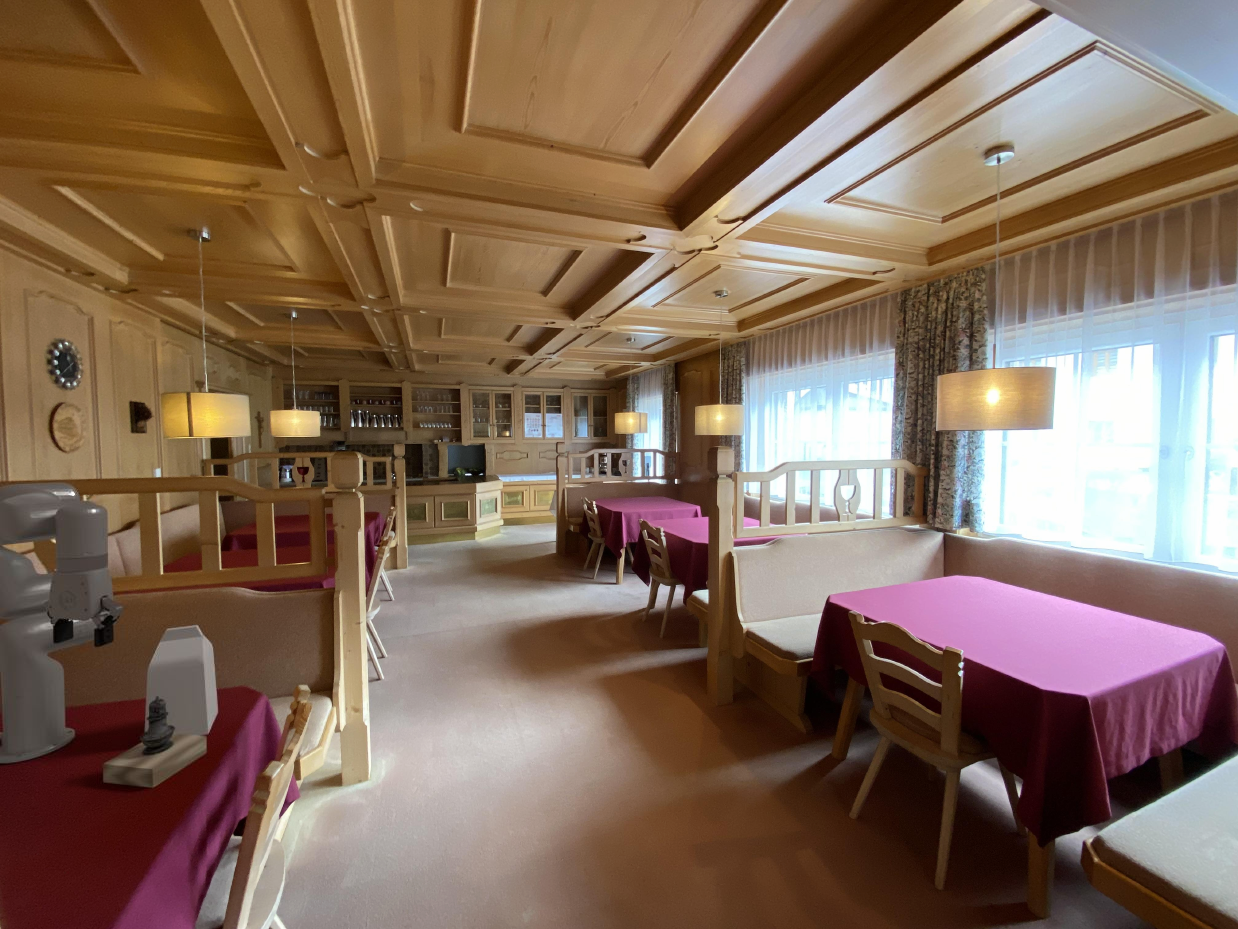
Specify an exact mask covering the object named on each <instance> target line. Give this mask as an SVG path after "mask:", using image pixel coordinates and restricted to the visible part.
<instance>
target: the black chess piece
mask: <svg viewBox="0 0 1238 929" xmlns="http://www.w3.org/2000/svg"><path fill="white" fill-rule="evenodd" d="M167 715H168V712H166V701H165V700H164V699H159V696H157V697H156V699H155V700H154V701H152V702H151V703H150V704H149V717H148V718H147V720H148V721H149V728H148V731H146V732H145V731H144V732H143V733H142V734H141V735H140V737H139V739H140V741H141V743H143V744H144V745H145V746H147V747H146V748H145V749H144V750H143V751H142V754H143V755H155V754H159V753H161V752H164V751H166V750H168V749H170V748H171V747H172V746H173V745H174V742H173V741H169V740H170V739H171V738H172V735H173V733H174V730H175V726H172V725H168V724H167Z"/></svg>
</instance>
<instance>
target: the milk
mask: <svg viewBox="0 0 1238 929" xmlns="http://www.w3.org/2000/svg"><path fill="white" fill-rule="evenodd" d="M214 654H215V653H214V647H213V644H212V642H211V641H210V640H209V639H208V638H207V637H206V636H205V635H204V634H203V632H202V630H201V629H200V627H199V625H198V624H195V625H185V626H179V627H171V628H170V627H169V628H166V630H165V632H164V633H163V635H162V637H161V639H160V640H159V643H158V645H157V647H156V649H155V652H154V654H153V656H152V658H151V660H150V663H149V664H148V668H147V673H146V674H147V677H146V678H147V679H146V680H147V681H146V694H145V695H146V696H145V698H146V700H145V701H146V702H145V719H144V721H145V723H144V733H145V732H146V731H148V728H149V721H148V720H147V718H148V717H149V704H150V703H151V702H152V701H154V700H155V699H156V697H157V696H159V699H164V700H165V701H166V712H168V715H167V724H168V725H172V726H175V730H174V733H178V734H188V735H198V736H206V735H209V733H210V731H211V729H212V726H213V724H214V722H215V720H216V718H217V716H218V713H219V707H218V706H219V705H218V694H217V681H216V668H215V655H214Z"/></svg>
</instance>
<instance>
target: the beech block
mask: <svg viewBox="0 0 1238 929" xmlns="http://www.w3.org/2000/svg"><path fill="white" fill-rule="evenodd" d="M169 741H173V742H174V745H173V746H172V747H171V748H170V749H168V750H166V751H164V752H161V753H159V754H155V755H143V754H142V751H143V750H144V749H145V748H146V747H147V746H145V745H144V744H143V743H142V742H140V743H138V744H136V745H135V746H133V747H130V749H128V750H125V751H124V752H122V753H120V754H118V755H117V756H115V757H113V758H112V759H110V760H109V759H108V761H106V762H104V763H103V764H102V769H103V770H102V773H103V776H102V778H103V780H102V781H103V783H107V784H117V785H124V786H125V785H127V786H132V787H134V786H135V787H142V788H143V787H144V788H151V789H152V788H154V787H156V786H158V785H159V784H161V783H162V782H163V783H164V781H166V780H167V779H169V778H171V777H172V776H174V775H175V774H176V773H178V772H179V771H181V770H183V769H185V767H187V766H188V765H190V764H192V763H193V762H194V761H196V760H198V759H200V758H201V757H202V756H204V755H206V754H207V752H208V750H207V749H208V748H207V735H200V736H198V735H188V734H178V733H173V735H172V738H171V739H170V740H169Z"/></svg>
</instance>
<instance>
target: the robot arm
mask: <svg viewBox="0 0 1238 929" xmlns="http://www.w3.org/2000/svg"><path fill="white" fill-rule="evenodd" d="M108 517H109V515H108V510H107V508H106V506H103V505H100V504H97V503H96V502H93V501H91V500H81V498H80V494H79V492H78V490H77V488H76V487H74V486H73V485H72V484H70V483H67V482H59V481H57V482H36V483H35V482H34V483H33V482H32V483H15V484H14V483H13V484H8V485H4V486H1V487H0V619H4V620H8V621H6V622H4V623H3V624H1V625H0V683H1V684H0V685H1V689H0V690H1V706H2V708H1V709H2V711H1V713H2V715H1V716H2V731H0V740H1V745H0V764H13V763H18V762H24V761H28V760H31V759H36V758H38V757H42V756H45V755H47V754H50V753H53V752H55V751H56V750H59V749H61V748H62V747H64V746H66V745H68V744H69V743H71V741H72V740H73V739H74V738H75V736H76V733H75V732H76V731H75V729H73V728H72V727H71V728H70V727H66V706H65V705H66V703H65V700H66V699H65V669H64V667H63V665H62V663H60V662H59V661H58V660H56V659H54V658H51V657H50V656H48V654H49V653H53V652H56V651H59V650H62V649H66V648H70V647H74V646H79V645H81V644H82V645H83V644H85V643H89V642H92V641H93V642H94V643H93V646H94V648H100V647H102V646H106V645H108V644H111V643H113V642H114V640H115V639H114V634H115V632H114V625H115V624H116V623H117V621H118V620H119V619H120V617H121V616H120V615H121V613H122V611H123V606H122V605H121V604H120V603H118V602H117V601H115V600H114V592H113V591H114V590H113V583H112V582H113V581H112V577H111V572H110V569H109V544H108V543H109V542H108V538H109V535H108V534H109V529H108V526H109V524H108V523H109V521H108ZM53 539H55V570H54V572H50V573H49V572H48V573H38V572H37V571H36V567H35V565H34V563H33V561H32V560H31V559H30V558H29V557H27V556H26V555H24V554H21V553H20V552H17V551H15V550H13V549H10V548H7V547H5V546H7V545H16V544H25V543H26V544H27V543H34V542H35V543H37V542H43V541H44V542H45V541H50V540H53Z"/></svg>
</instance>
